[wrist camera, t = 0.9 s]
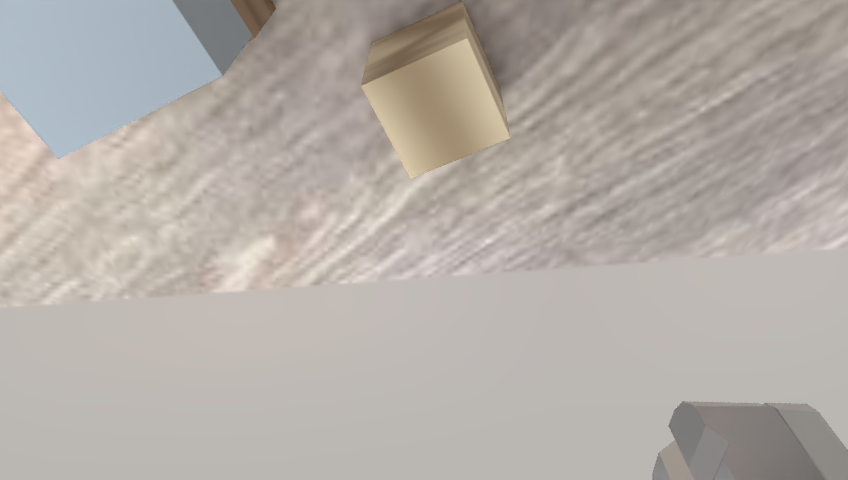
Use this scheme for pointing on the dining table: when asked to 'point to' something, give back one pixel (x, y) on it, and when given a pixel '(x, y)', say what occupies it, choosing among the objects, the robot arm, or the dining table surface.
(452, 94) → the maple block
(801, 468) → the robot arm
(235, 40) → the tower top
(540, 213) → the dining table surface
